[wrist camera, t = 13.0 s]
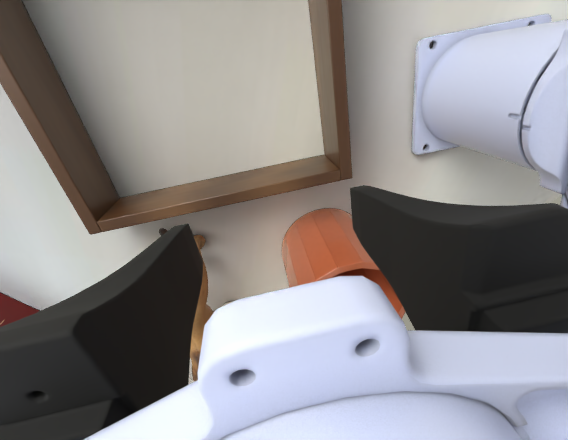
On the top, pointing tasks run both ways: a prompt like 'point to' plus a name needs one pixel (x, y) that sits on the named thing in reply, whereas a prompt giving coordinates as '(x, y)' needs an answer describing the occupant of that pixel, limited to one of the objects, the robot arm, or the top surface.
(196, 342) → the lion figurine
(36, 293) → the top surface
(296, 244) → the cup
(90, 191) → the wooden frame
